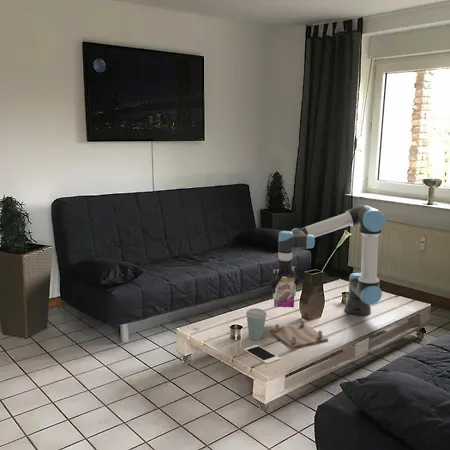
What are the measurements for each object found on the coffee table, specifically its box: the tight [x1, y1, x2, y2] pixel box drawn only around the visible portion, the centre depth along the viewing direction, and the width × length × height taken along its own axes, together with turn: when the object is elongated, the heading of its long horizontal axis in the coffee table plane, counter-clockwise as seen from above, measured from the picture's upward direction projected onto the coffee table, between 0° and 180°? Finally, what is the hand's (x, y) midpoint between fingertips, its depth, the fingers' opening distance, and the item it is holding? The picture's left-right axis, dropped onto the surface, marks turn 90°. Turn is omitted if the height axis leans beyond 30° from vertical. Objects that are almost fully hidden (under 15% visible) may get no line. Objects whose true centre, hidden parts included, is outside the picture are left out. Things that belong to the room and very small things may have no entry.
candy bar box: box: [273, 276, 295, 308], centre depth 279 cm, size 11×5×16 cm, turn 84°
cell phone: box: [243, 344, 281, 365], centre depth 243 cm, size 9×18×1 cm, turn 36°
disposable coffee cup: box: [245, 308, 268, 341], centre depth 260 cm, size 11×11×15 cm
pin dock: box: [269, 319, 329, 350], centre depth 263 cm, size 22×22×5 cm
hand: (284, 296), depth 279 cm, fingers closed on candy bar box, 12 cm apart
